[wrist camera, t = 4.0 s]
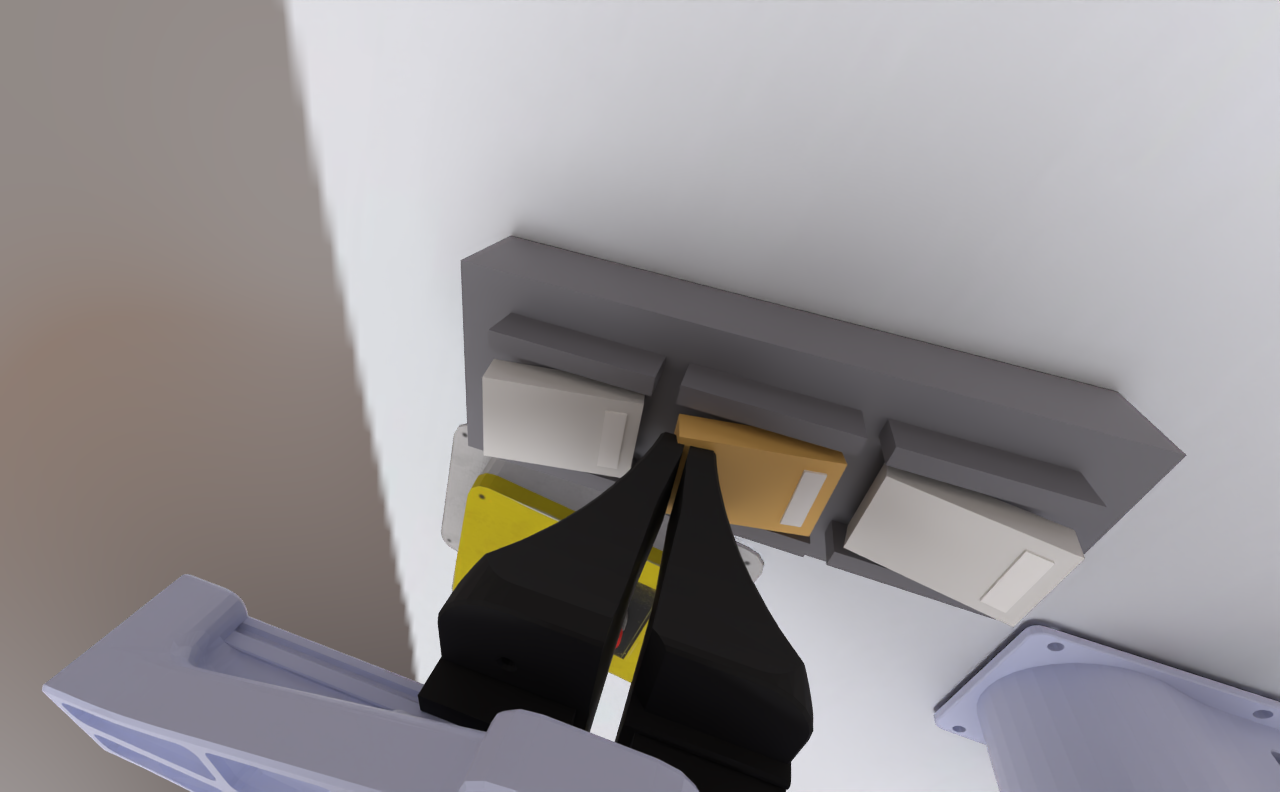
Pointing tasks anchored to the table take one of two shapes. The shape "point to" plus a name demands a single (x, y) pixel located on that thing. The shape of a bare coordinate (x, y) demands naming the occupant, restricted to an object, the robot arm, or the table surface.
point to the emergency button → (537, 528)
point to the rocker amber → (763, 473)
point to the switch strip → (810, 393)
